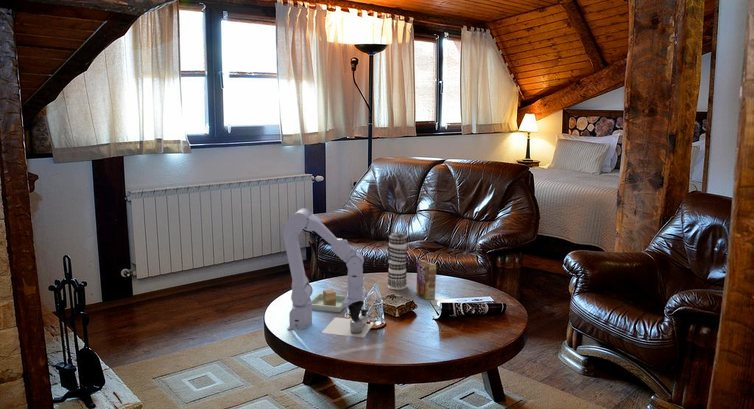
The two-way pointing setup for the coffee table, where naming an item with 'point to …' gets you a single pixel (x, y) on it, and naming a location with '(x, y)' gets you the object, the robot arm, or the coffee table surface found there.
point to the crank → (358, 322)
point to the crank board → (344, 328)
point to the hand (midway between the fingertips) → (354, 320)
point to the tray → (318, 305)
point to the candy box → (426, 279)
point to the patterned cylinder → (397, 261)
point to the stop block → (329, 297)
